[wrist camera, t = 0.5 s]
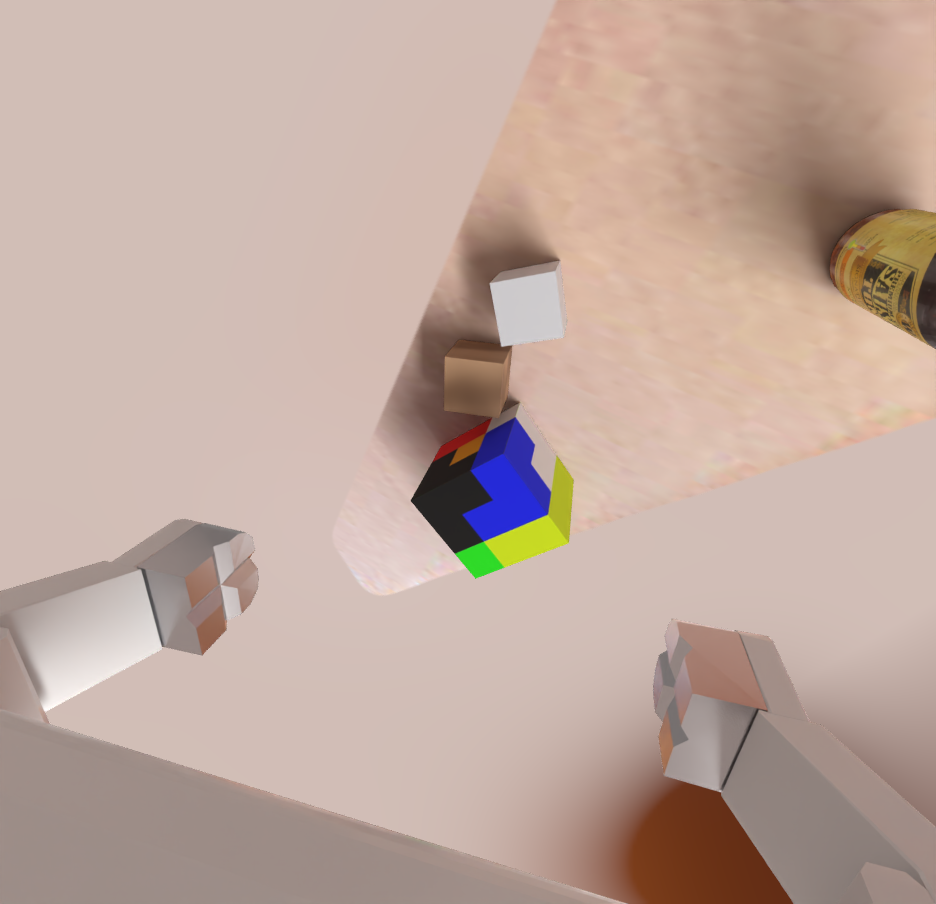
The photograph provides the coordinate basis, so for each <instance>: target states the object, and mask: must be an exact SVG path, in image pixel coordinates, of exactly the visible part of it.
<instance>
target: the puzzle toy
mask: <svg viewBox="0 0 936 904" xmlns="http://www.w3.org/2000/svg"><path fill="white" fill-rule="evenodd" d="M573 481H574V480H573V478H572V477H571V475H570V474H569V473H568V471H567V470H566V468H565V467H564V465H563V464H562V462H561V461H560V459H559V458H558V457H557V455H556V454H555V452H554V451H553V449H552V448H551V446H550V445H549V443H548V442H547V441H546V439H545V438H544V436H543V435H542V433H541V432H540V430H539V429H538V427H537V426H536V425H535V423H534V422H533V420H532V419H531V417H530V416H529V414H528V413H527V411H526V410H525V409H524V407H523V406H522V404H521V403H518V404H516V405H514V406H513V407H511V408H509V409H507V410H505V411H504V412H502V413H501V414H500V417H499V418H494V417H493V418H491V419H489V420H488V421H486V422H484V423H482V424H480V425H479V426H477V427H475V428H473V429H471V430H470V431H468V432H466V433H464V434H462V435H461V436H459V437H457V438H455V439H453V440H452V441H450V442H448V443H446V444H445V445H443V446H441V448H440V449H439V451H438V453H437V455H436V456H435V458H434V460H433V462H432V464H431V465H430V467H429V469H428V471H427V473H426V474H425V476H424V478H423V480H422V481H421V483H420V485H419V487H418V489H417V490H416V492H415V494H414V496H413V498H412V499H411V502H412V503H413V504H414V505H415V507H416V508H417V509H418V510H419V511H420V513H421V514H422V515H423V516H424V517H425V519H426V520H427V521H428V522H429V523H430V525H431V526H432V527H433V528H434V529H435V531H436V532H437V533H438V534H439V535H440V537H441V538H442V539H443V540H444V541H445V543H446V544H447V545H448V546H449V547H450V549H451V550H452V551H453V552H454V553H455V555H456V556H457V557H458V558H459V559H460V561H461V562H462V563H463V564H464V565H465V567H466V568H467V569H468V570H469V571H470V573H472V575H473V576H474V577H475V579H476V578H478V577H481V576H484V575H486V574H489V573H491V572H494V571H497V570H499V569H502V568H505V567H507V566H510V565H512V564H515V563H518V562H520V561H523V560H526V559H528V558H531V557H534V556H536V555H539V554H541V553H544V552H547V551H549V550H552V549H555V548H557V547H560V546H563V545H565V544H568V543H569V534H570V521H571V508H572V495H573Z"/></svg>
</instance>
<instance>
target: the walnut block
mask: <svg viewBox="0 0 936 904" xmlns="http://www.w3.org/2000/svg"><path fill="white" fill-rule="evenodd" d="M511 354H512V346H511V345H510V346H503V347H501V344H494V343H485V342H477V341H468V340H458V341H457V342H456V344H455V345H454V346H453V347H452V348H451V350H450V351H449V352H448V353H447V355H446V356H445V371H444V411H451V412H458V413H465V414H472V415H479V416H487V417H494V418H499V417H500V414H501V412H502V409H503V406H504V404H505V401H506V399H507V396H508V386H509V375H510V365H511Z"/></svg>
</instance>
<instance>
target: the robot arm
mask: <svg viewBox="0 0 936 904" xmlns="http://www.w3.org/2000/svg"><path fill="white" fill-rule="evenodd" d="M254 551H255V548H254V543H253V538H252V536H250V535H249V534H247V533H246V532H242V531H237V530H233V529H228V528H224V527H220V526H215V525H211V524H206V523H201V522H196V521H192V520H187V519H180V520H175V521H173V522H172V523H170V524H168V525H167V526H166V527H164V528H162V529H161V530H159V531H158V532H156V533H155V534H153V535H152V536H150V537H149V538H147V539H146V540H144V541H143V542H141V543H140V544H138V545H137V546H135V547H134V548H132V549H130V550H129V551H128V552H126V553H124V554H123V555H121V556H120V557H118V558H117V559H115V560H114V561H113V562H107V561H102V562H99V563H96V564H92V565H89V566H85V567H81V568H78V569H75V570H72V571H68V572H64V573H61V574H57V575H54V576H51V577H47V578H44V579H40V580H37V581H34V582H30V583H27V584H23V585H20V586H16V587H13V588H9V589H6V590H3V591H0V904H627V903H623V902H620V901H617V900H614V899H611V898H607V897H604V896H601V895H598V894H594V893H591V892H588V891H585V890H581V889H578V888H575V887H572V886H568V885H566V884H562V883H559V882H556V881H553V880H549V879H546V878H543V877H540V876H536V875H533V874H530V873H527V872H523V871H520V870H517V869H514V868H511V867H507V866H504V865H501V864H498V863H495V862H491V861H488V860H485V859H482V858H479V857H475V856H472V855H469V854H466V853H462V852H459V851H456V850H453V849H449V848H446V847H443V846H440V845H437V844H434V843H430V842H427V841H424V840H420V839H417V838H414V837H411V836H408V835H404V834H401V833H398V832H395V831H392V830H388V829H385V828H382V827H379V826H376V825H372V824H369V823H366V822H363V821H359V820H356V819H353V818H350V817H346V816H343V815H340V814H337V813H334V812H330V811H327V810H324V809H321V808H317V807H314V806H311V805H308V804H305V803H301V802H298V801H295V800H292V799H289V798H285V797H282V796H279V795H276V794H273V793H269V792H266V791H263V790H260V789H256V788H253V787H250V786H247V785H244V784H240V783H237V782H234V781H230V780H227V779H224V778H221V777H217V776H215V775H212V774H208V773H205V772H202V771H199V770H195V769H192V768H189V767H185V766H183V765H179V764H176V763H173V762H170V761H167V760H163V759H160V758H157V757H154V756H150V755H147V754H144V753H141V752H138V751H134V750H131V749H128V748H125V747H121V746H118V745H115V744H112V743H109V742H105V741H102V740H99V739H96V738H93V737H90V736H86V735H83V734H80V733H76V732H73V731H70V730H67V729H64V728H61V727H57V726H54V725H51V724H50V723H49V721H48V719H47V716H46V714H45V712H46V711H48V710H49V709H51V708H53V707H55V706H57V705H59V704H60V703H62V702H64V701H66V700H68V699H70V698H72V697H74V696H76V695H77V694H79V693H81V692H83V691H85V690H86V689H89V688H90V687H92V686H94V685H96V684H98V683H100V682H102V681H103V680H105V679H107V678H109V677H111V676H113V675H115V674H116V673H118V672H120V671H122V670H124V669H126V668H128V667H130V666H132V665H133V664H135V663H137V662H139V661H141V660H143V659H144V658H146V657H148V656H150V655H152V654H154V653H156V652H158V651H159V650H161V649H162V647H167V648H171V649H176V650H180V651H184V652H189V653H194V654H198V655H203V654H204V653H205V652H206V651H207V650H208V649H209V648H210V647H211V646H212V644H214V643H215V642H216V640H217V639H218V638H219V637H220V636H221V635H222V634H223V633H224V632H225V631H226V629H227V620H229V619H231V618H233V617H236V616H238V615H240V614H242V613H243V612H244V611H245V610H246V609H247V607H248V606H249V605H250V604H251V602H252V600H253V598H254V596H255V594H256V592H257V589H258V581H259V576H258V568H257V567H256V566H255V564H254V563H253V562H252V560H251V559H250V557H251V555H252V554H253V553H254ZM665 641H666V647H667V651H665V652H663V653H662V654H660V655H659V657H658V661H657V664H656V668H655V675H654V684H653V696H654V697H653V698H654V707H655V713H656V714H657V715H658V716H659V718H660V719H661V720H662V722H663V723H662V726H661V729H660V732H659V736H658V738H659V745H660V752H661V760H662V767H663V773H664V776H667V777H670V778H674V779H677V780H681V781H684V782H688V783H691V784H695V785H698V786H701V787H705V788H709V789H712V790H716V791H719V792H722V794H721V796H722V797H723V799H724V800H725V802H726V803H727V805H728V806H729V807H730V809H731V811H732V812H733V814H734V815H735V817H736V818H737V819H738V821H739V823H740V824H741V826H742V827H743V828H744V830H745V832H746V833H747V834H748V836H749V837H750V839H751V840H752V842H753V843H754V845H755V846H756V848H757V849H758V851H759V852H760V854H761V855H762V857H763V858H764V860H765V861H766V863H767V864H768V866H769V867H770V869H771V870H772V872H773V873H774V875H775V876H776V877H777V879H778V880H779V882H780V884H781V885H782V887H783V888H784V890H785V891H786V893H787V894H788V895H789V897H790V898H791V900H792V901H793V903H794V904H936V827H935V826H934V825H933V824H932V823H930V821H928V820H927V819H926V818H925V817H924V816H923V815H922V814H921V813H919V812H918V811H917V810H916V809H915V808H914V807H913V806H912V805H910V804H909V803H908V802H907V801H906V800H905V799H904V798H903V797H902V796H900V795H899V794H898V793H897V792H896V791H895V790H894V789H893V788H892V787H890V786H889V785H888V784H887V783H886V782H885V781H884V780H883V779H882V778H880V777H879V776H878V775H877V774H876V773H875V772H874V771H873V770H871V769H870V768H869V767H868V766H867V765H866V764H865V763H864V762H862V761H861V760H860V759H859V758H858V757H857V756H856V755H855V754H854V753H852V752H851V751H850V750H849V749H848V748H847V747H846V746H845V745H843V744H842V743H841V742H840V741H839V740H838V739H837V738H836V737H835V736H833V735H832V734H831V733H830V732H829V731H828V730H827V729H826V728H824V727H823V726H822V725H821V724H817V723H813V722H810V720H809V718H808V716H807V714H806V712H805V709H804V707H803V705H802V703H801V701H800V699H799V697H798V694H797V692H796V690H795V688H794V686H793V683H792V681H791V679H790V677H789V675H788V673H787V670H786V668H785V666H784V664H783V662H782V660H781V658H780V655H779V653H778V651H777V649H776V647H775V645H774V642H773V641H772V640H771V639H770V638H769V637H768V636H764V635H759V634H753V633H748V632H742V631H736V630H735V631H732V630H727V629H722V628H717V627H712V626H706V625H702V624H696V623H691V622H686V621H681V620H676V619H672V620H671V621H670V623H669V624H668V627H667V630H666V633H665Z"/></svg>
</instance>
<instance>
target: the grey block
mask: <svg viewBox="0 0 936 904" xmlns="http://www.w3.org/2000/svg"><path fill="white" fill-rule="evenodd" d="M490 288H491V294H492V299H493V304H494V310H495V315H496V320H497V326H498V331H499V337H500V342H501V347H503V346H510V345H517V344H524V343H531V342H538V341H544V340H551V339H558V338H564V335H565V330H566V325H567V314H566V305H565V297H564V289H563V280H562V272H561V264H560V260H559V261H554V262H548V263H543V264H538V265H533V266H528V267H522V268H517V269H512V270H507V271H502V272H500V273H499V274H498V275H497V276H496V277H495V278H494V279H493V280H492V281H491V282H490Z"/></svg>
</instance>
